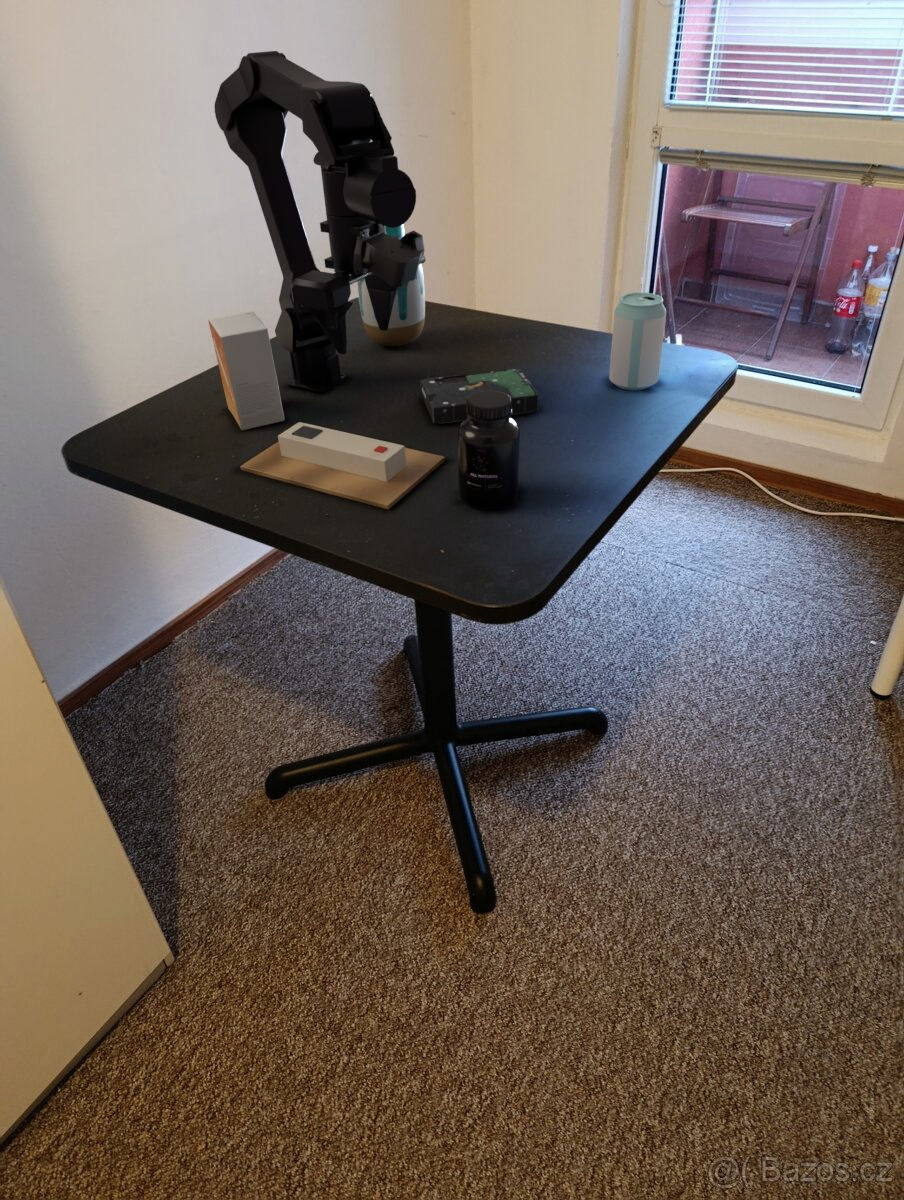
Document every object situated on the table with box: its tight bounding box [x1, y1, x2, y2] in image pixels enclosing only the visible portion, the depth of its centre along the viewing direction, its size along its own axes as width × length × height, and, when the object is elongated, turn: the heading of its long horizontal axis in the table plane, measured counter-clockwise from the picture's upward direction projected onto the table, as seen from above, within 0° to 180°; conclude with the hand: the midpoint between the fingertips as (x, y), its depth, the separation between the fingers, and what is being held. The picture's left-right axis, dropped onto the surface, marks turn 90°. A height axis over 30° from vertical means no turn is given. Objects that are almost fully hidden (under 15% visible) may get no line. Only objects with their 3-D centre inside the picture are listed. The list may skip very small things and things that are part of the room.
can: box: [608, 291, 667, 391], centre depth 113 cm, size 7×7×12 cm
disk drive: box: [420, 368, 540, 425], centre depth 112 cm, size 10×3×15 cm
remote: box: [277, 421, 406, 482], centre depth 99 cm, size 16×4×3 cm, turn 61°
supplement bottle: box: [457, 391, 521, 511], centre depth 89 cm, size 7×7×12 cm
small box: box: [207, 311, 286, 431], centre depth 109 cm, size 8×6×13 cm
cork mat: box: [239, 440, 446, 510], centre depth 100 cm, size 22×13×1 cm, turn 61°
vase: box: [356, 223, 426, 347], centre depth 128 cm, size 11×11×19 cm
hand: (363, 341), depth 105 cm, fingers open, 9 cm apart
